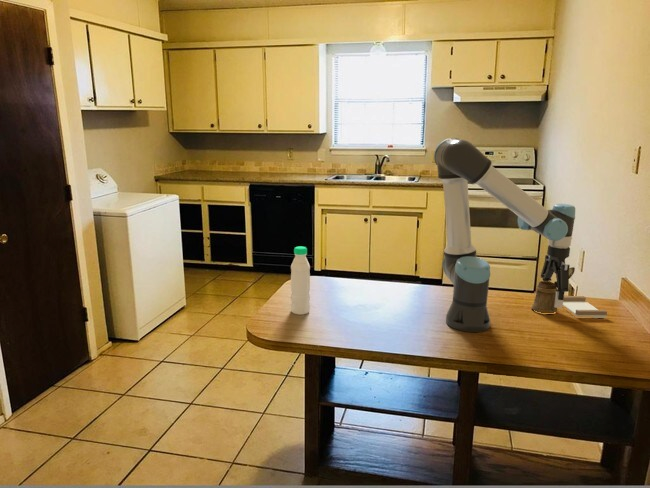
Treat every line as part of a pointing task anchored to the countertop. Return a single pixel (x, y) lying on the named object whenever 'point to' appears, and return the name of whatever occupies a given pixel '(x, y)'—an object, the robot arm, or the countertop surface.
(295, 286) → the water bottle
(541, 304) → the wooden mug
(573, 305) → the ledge board
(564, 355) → the countertop surface
